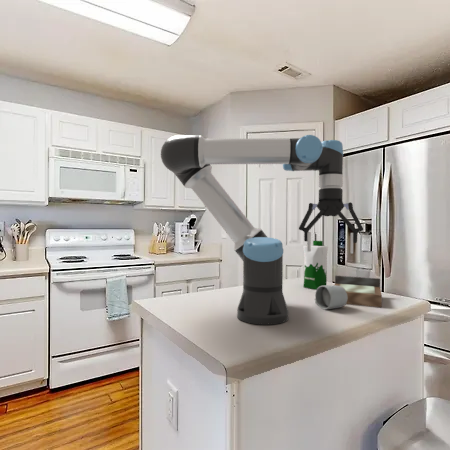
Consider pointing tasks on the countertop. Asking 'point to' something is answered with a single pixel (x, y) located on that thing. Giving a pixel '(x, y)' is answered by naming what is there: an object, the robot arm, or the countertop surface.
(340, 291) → the ceramic mug
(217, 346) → the countertop surface
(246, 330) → the countertop surface
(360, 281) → the step
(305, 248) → the milk carton
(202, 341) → the countertop surface
